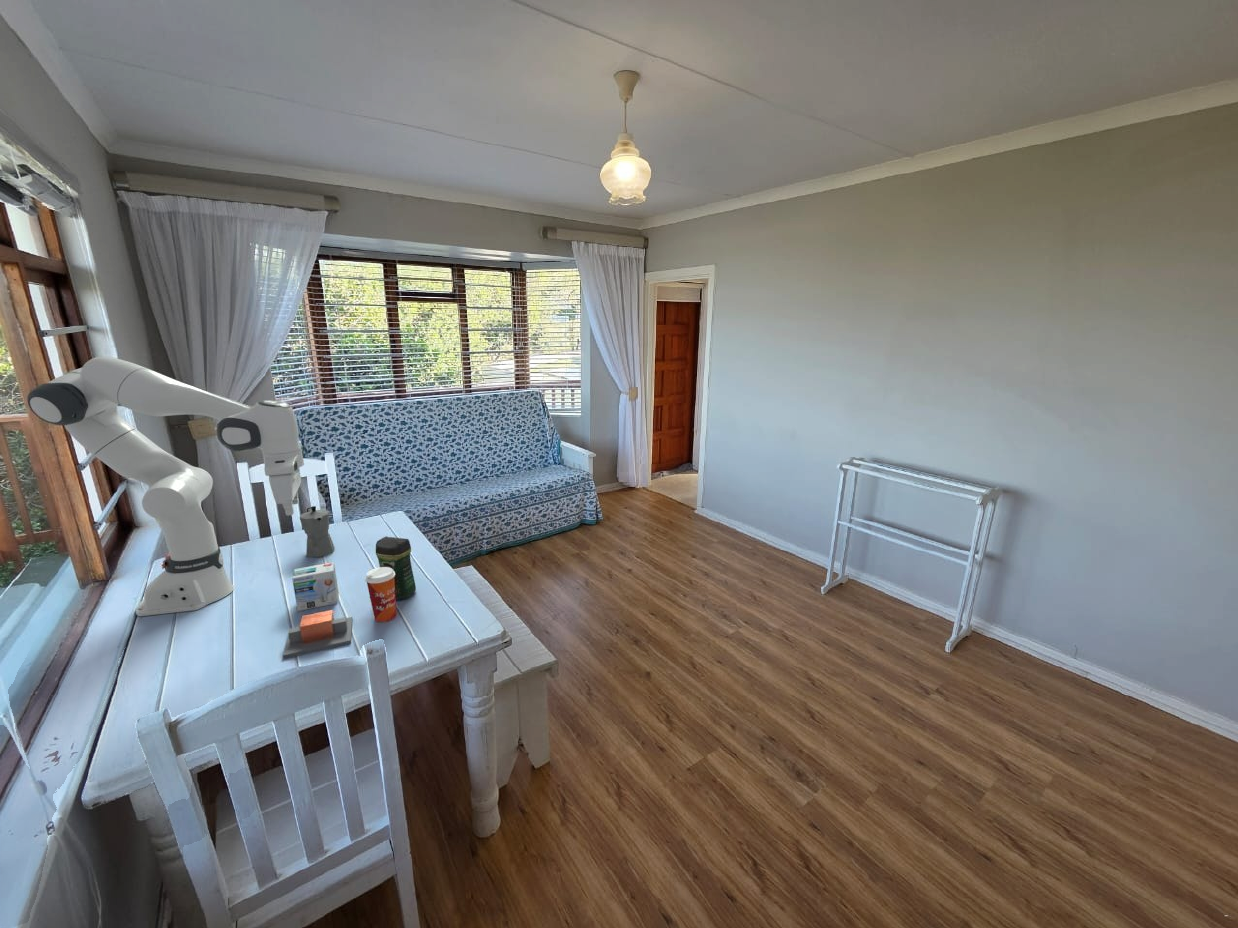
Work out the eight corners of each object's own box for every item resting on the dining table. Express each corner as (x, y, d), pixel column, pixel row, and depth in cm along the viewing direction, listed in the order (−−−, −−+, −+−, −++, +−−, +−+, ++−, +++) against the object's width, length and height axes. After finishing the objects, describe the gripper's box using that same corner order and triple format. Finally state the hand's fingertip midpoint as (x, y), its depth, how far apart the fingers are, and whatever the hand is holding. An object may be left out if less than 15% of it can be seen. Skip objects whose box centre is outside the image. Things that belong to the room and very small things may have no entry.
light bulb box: (297, 611, 144) (290, 578, 142) (299, 601, 150) (293, 568, 147) (339, 603, 149) (333, 570, 146) (339, 592, 155) (334, 561, 152)
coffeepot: (340, 554, 181) (333, 507, 176) (311, 562, 175) (302, 514, 170) (328, 541, 192) (321, 497, 187) (300, 548, 185) (291, 503, 181)
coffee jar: (420, 589, 157) (414, 535, 152) (404, 602, 150) (397, 545, 145) (394, 585, 159) (387, 531, 154) (376, 598, 152) (369, 542, 147)
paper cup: (381, 627, 137) (375, 581, 134) (365, 618, 141) (358, 574, 137) (406, 614, 144) (400, 570, 140) (390, 606, 148) (384, 563, 144)
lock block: (302, 643, 128) (299, 626, 127) (305, 632, 133) (302, 615, 132) (333, 636, 131) (331, 620, 130) (335, 626, 136) (332, 609, 135)
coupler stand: (283, 658, 124) (280, 644, 123) (290, 633, 134) (287, 620, 133) (351, 643, 130) (348, 629, 129) (352, 619, 141) (350, 607, 140)
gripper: (276, 453, 142) (284, 499, 146) (262, 471, 124) (272, 523, 128) (302, 451, 145) (309, 496, 148) (292, 468, 127) (301, 519, 131)
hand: (292, 508), depth 138 cm, fingers open, 8 cm apart
